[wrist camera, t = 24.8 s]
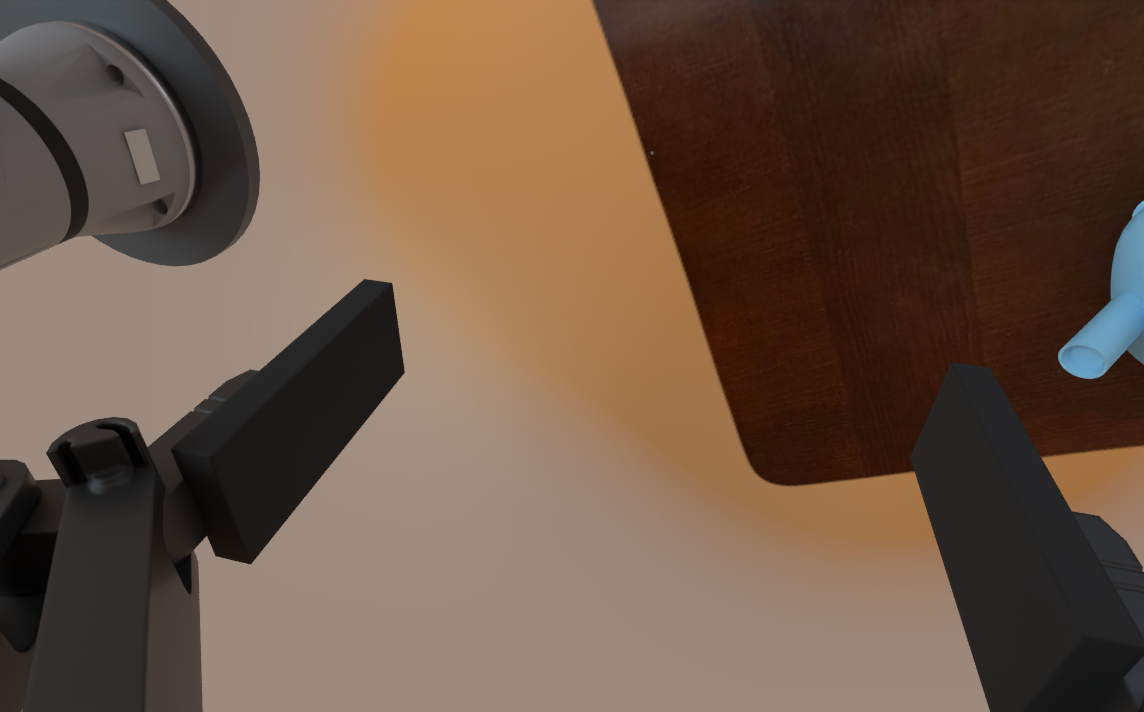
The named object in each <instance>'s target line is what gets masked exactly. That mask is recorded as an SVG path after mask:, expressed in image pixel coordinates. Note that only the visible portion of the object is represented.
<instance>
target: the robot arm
mask: <svg viewBox="0 0 1144 712" xmlns="http://www.w3.org/2000/svg"><path fill="white" fill-rule="evenodd" d="M201 182H202V158H201V152H200V147H199V143H198V139H197V136H196V133H195V130H194V127H193V125H192V122H191V120H190V118H189V116H188V114H187V112H186V109H185V108H184V106H183V104H182V102H181V101H180V99H179V97H178V96H177V94H176V93H175V91H174V90H173V88H172V87H171V85H170V84H169V83H168V81H167V80H166V79H165V77H164V76H163V75H162V74H161V73H160V71H159V70H158V69H157V68H156V67H155V66H154V65H153V64H152V63H151V62H150V61H149V60H148V59H147V58H146V57H145V56H144V55H143V54H142V53H141V52H140V51H138V50H137V49H136V48H135V47H133V46H132V45H131V44H129V43H128V42H127V41H125V40H124V39H122V38H121V37H119V36H117V35H116V34H114V33H112V32H110V31H108V30H106V29H104V28H102V27H100V26H97V25H94V24H91V23H88V22H84V21H78V20H56V21H48V22H40V23H37V24H34V25H31V26H27V27H25V28H22V29H20V30H18V31H16V32H14V33H12V34H11V35H9V36H8V37H6V38H5V39H3V40H1V41H0V270H2V269H4V268H6V267H8V266H11V265H13V264H15V263H17V262H20V261H22V260H24V259H27V258H29V257H31V256H33V255H35V254H38V253H40V252H42V251H45V250H47V249H49V248H51V247H53V246H55V245H58V244H60V243H62V242H65V241H67V240H69V239H71V238H74V237H78V236H92V235H104V234H117V233H130V232H142V231H147V230H151V229H154V228H158V227H162V226H164V225H166V224H168V223H170V222H172V221H174V220H176V219H178V218H180V217H182V216H183V215H185V214H186V213H187V212H188V211H189V210H190V209H191V207H192V206H193V205H194V203H195V201H196V199H197V197H198V194H199V191H200V187H201ZM404 373H405V371H404V364H403V357H402V350H401V343H400V336H399V328H398V321H397V314H396V307H395V300H394V292H393V285H392V283H387V282H381V281H374V280H367V279H364V280H363V281H362V282H361V283H359V284H358V285H357V286H356V287H355V288H354V289H353V290H352V291H350V292H349V293H348V294H347V295H346V296H345V297H343V298H342V299H341V300H340V301H339V302H338V303H337V304H335V305H334V306H333V307H332V308H331V309H330V310H329V311H327V312H326V313H325V314H324V315H323V316H322V317H321V318H319V319H318V320H317V321H316V322H315V323H314V324H313V325H311V326H310V327H309V328H308V329H307V330H306V331H305V332H303V333H302V334H301V335H300V336H299V337H298V338H297V339H295V340H294V341H293V342H292V343H291V344H290V345H289V346H288V347H286V348H285V349H284V350H283V351H282V352H281V353H279V355H277V356H276V357H275V358H274V359H273V360H271V361H270V362H269V363H268V364H267V365H266V366H264V367H263V368H262V369H261V370H260V371H255V370H248V371H246V372H244V373H243V374H240V375H238V376H236V377H234V378H232V379H230V380H228V381H226V382H225V383H224V384H223V385H221V386H220V387H219V388H218V389H217V390H216V391H214V392H213V393H212V394H211V395H209V398H208V399H205V400H203V401H202V402H201V403H200V404H199V405H197V406H196V407H195V408H194V411H193V412H192V411H191V412H189V413H188V414H187V415H186V416H184V417H183V418H182V419H181V420H180V421H178V422H177V423H176V424H175V425H174V426H172V427H171V428H170V429H169V430H168V431H167V432H165V433H164V434H163V435H162V436H160V437H159V438H158V439H157V440H156V441H155V442H153V443H152V444H151V445H150V446H149V447H147V446H146V443H145V441H144V439H143V437H142V435H141V432H140V430H139V428H138V426H137V424H136V423H135V422H133V421H131V420H129V419H127V418H117V417H111V418H104V419H97V420H94V421H91V422H87V423H84V424H81V425H79V426H77V427H75V428H73V429H71V430H69V431H67V432H65V433H64V434H63V435H61V436H60V437H59V438H58V439H56V440H55V441H54V442H53V443H52V444H51V446H50V447H49V449H48V451H47V452H46V454H47V456H48V457H49V459H50V461H51V463H52V464H53V466H54V468H55V470H56V471H57V473H58V475H59V476H60V478H61V479H53V480H35V479H34V478H33V476H32V475H31V473H30V471H29V469H28V468H27V466H26V464H25V463H22V462H19V461H17V460H0V712H21V711H22V709H23V711H22V712H203V711H202V678H201V644H200V612H199V611H200V610H199V574H198V561H197V558H196V555H195V552H194V549H195V548H196V547H197V546H198V545H199V543H200V542H201V541H202V540H203V539H204V538H205V537H206V536H207V537H208V539H209V541H210V544H211V546H212V548H213V551H214V553H215V556H217V557H222V558H226V559H230V560H234V561H239V562H243V563H247V564H252V562H253V561H254V560H255V559H256V557H257V556H258V555H259V554H260V552H261V551H262V550H263V549H264V547H265V546H266V545H267V544H268V542H269V541H270V540H271V538H272V537H273V536H274V535H275V534H276V532H277V531H278V530H279V528H280V527H281V526H282V525H283V524H284V522H285V521H286V520H287V519H288V517H289V516H290V515H291V514H292V512H293V511H294V510H295V509H296V507H297V506H298V505H299V504H300V502H301V501H302V500H303V499H304V497H305V496H306V495H307V494H308V492H309V491H310V490H311V489H312V487H313V486H314V485H315V484H316V482H317V481H318V480H319V479H320V478H321V476H322V475H323V474H324V473H325V471H326V470H327V469H328V468H329V466H330V465H331V464H332V463H333V461H334V460H335V459H336V458H337V456H338V455H339V454H340V453H341V451H342V450H343V449H344V447H345V446H346V445H347V444H348V442H349V441H350V440H351V439H352V438H353V436H354V435H355V434H356V433H357V431H358V430H359V429H360V428H361V426H362V425H363V424H364V422H365V421H366V420H367V419H368V418H369V416H370V415H371V414H372V413H373V411H374V410H375V409H376V408H377V406H378V405H379V404H380V403H381V401H382V400H383V399H384V398H385V396H386V395H387V394H388V393H389V391H390V390H391V389H392V388H393V386H394V385H395V384H396V383H397V381H398V380H399V379H400V378H401V376H402V375H403V374H404ZM910 458H911V461H912V464H913V468H914V471H915V474H916V477H917V480H918V483H919V487H920V490H921V493H922V496H923V499H924V502H925V506H926V509H927V512H928V515H929V519H930V522H931V525H932V528H933V531H934V534H935V538H936V541H937V544H938V547H939V550H940V553H941V557H942V560H943V563H944V566H945V569H946V573H947V575H948V578H949V582H950V585H951V588H952V592H953V595H954V598H955V601H956V604H957V608H958V611H959V614H960V617H961V620H962V624H963V627H964V630H965V633H966V636H967V639H968V643H969V646H970V649H971V652H972V655H973V659H974V662H975V665H976V668H977V671H978V674H979V678H980V681H981V684H982V687H983V690H984V693H985V697H986V700H987V703H988V706H989V709H990V712H1144V572H1143V571H1142V568H1143V567H1142V565H1141V564H1140V562H1139V561H1138V559H1137V557H1136V556H1135V554H1134V553H1133V551H1132V549H1131V548H1130V546H1129V545H1128V543H1127V542H1126V541H1125V540H1124V539H1123V538H1122V537H1121V536H1120V535H1119V534H1118V533H1117V532H1116V531H1115V530H1113V529H1112V528H1111V527H1110V526H1109V525H1108V524H1107V523H1106V522H1105V521H1103V520H1102V519H1101V518H1100V517H1099V516H1095V515H1089V514H1084V513H1078V512H1072V511H1071V509H1070V508H1069V506H1068V504H1067V502H1066V501H1065V499H1064V497H1063V495H1062V494H1061V492H1060V490H1059V488H1058V486H1057V485H1056V483H1055V481H1054V479H1053V478H1052V476H1051V474H1050V472H1049V471H1048V469H1047V467H1046V465H1045V464H1044V462H1043V460H1042V458H1041V457H1040V455H1039V453H1038V451H1037V449H1036V448H1035V446H1034V444H1033V442H1032V441H1031V439H1030V437H1029V435H1028V434H1027V432H1026V430H1025V428H1024V427H1023V425H1022V423H1021V421H1020V420H1019V418H1018V416H1017V414H1016V413H1015V411H1014V409H1013V407H1012V406H1011V404H1010V402H1009V400H1008V398H1007V397H1006V395H1005V393H1004V391H1003V390H1002V388H1001V386H1000V384H999V383H998V381H997V379H996V377H995V376H994V374H993V372H992V370H991V369H990V368H987V367H980V366H973V365H966V364H959V363H951V365H950V368H949V370H948V372H947V374H946V377H945V379H944V381H943V384H942V386H941V388H940V390H939V393H938V395H937V397H936V400H935V402H934V404H933V406H932V409H931V411H930V413H929V416H928V418H927V420H926V422H925V425H924V427H923V429H922V432H921V434H920V436H919V438H918V441H917V443H916V445H915V448H914V450H913V452H912V454H911V457H910Z"/></svg>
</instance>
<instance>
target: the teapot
mask: <svg viewBox="0 0 1144 712" xmlns="http://www.w3.org/2000/svg"><path fill="white" fill-rule="evenodd" d="M1126 350H1128V351H1129V352H1130V353H1131V354H1132V355H1133V356H1134V357H1135V358H1136V359H1137V360H1138V361H1140V362H1141V363H1142V364H1144V201H1142V202H1141V203H1140V204H1139V205H1138V206H1137V207H1136V209H1135V210H1134V212H1133V215H1132V219H1131V220H1130V222H1129V223H1128V224H1127V226H1126V227H1125V228H1124V230H1123V232H1122V234H1121V236H1120V238H1119V241H1118V243H1117V245H1116V249H1115V254H1114V259H1113V263H1112V273H1111V301H1110V302H1109V303H1108V304H1107V305H1106V306H1105V307H1104V308H1103V309H1102V310H1101V311H1100V312H1099V313H1098V314H1097V315H1096V316H1095V317H1094V318H1093V319H1092V320H1091V321H1090V322H1088V323H1087V324H1086V325H1085V326H1084V327H1083V328H1082V329H1081V330H1080V331H1079V332H1078V333H1077V334H1076V335H1075V336H1074V337H1073V338H1072V339H1071V340H1070V341H1069V342H1068V343H1067V344H1066V345H1065V346H1064V347H1063V348H1062V349H1061V350H1060V352H1059V354H1058V358H1059V362H1060V364H1061V365H1062V367H1063V368H1064V369H1065V370H1066V371H1068V372H1069V373H1071V374H1073V375H1075V376H1077V377H1081V378H1087V379H1092V378H1097V377H1100V376H1102V375H1103V374H1104V373H1105V372H1106V371H1107V370H1108V369H1109V368H1110V367H1111V366H1112V365H1113V364H1114V362H1115V361H1116V360H1117V359H1118V358H1119V357H1120V356H1121V355H1122V354H1123V353H1124V352H1125V351H1126Z"/></svg>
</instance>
